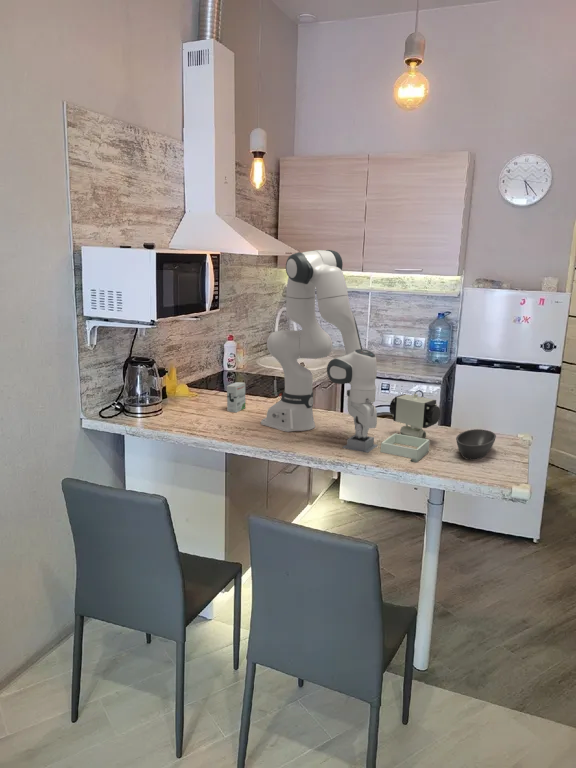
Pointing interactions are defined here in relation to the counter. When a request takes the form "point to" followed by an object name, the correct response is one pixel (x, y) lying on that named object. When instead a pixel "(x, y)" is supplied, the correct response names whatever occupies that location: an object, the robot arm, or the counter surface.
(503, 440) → the counter surface
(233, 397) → the ink box
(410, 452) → the bin
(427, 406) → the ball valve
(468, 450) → the bowl
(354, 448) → the socket block
